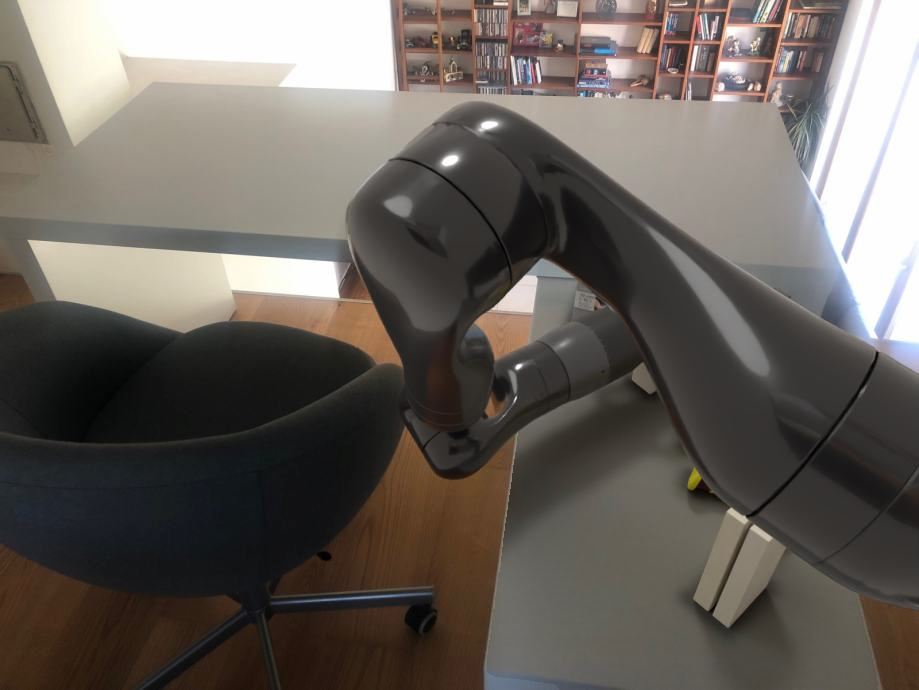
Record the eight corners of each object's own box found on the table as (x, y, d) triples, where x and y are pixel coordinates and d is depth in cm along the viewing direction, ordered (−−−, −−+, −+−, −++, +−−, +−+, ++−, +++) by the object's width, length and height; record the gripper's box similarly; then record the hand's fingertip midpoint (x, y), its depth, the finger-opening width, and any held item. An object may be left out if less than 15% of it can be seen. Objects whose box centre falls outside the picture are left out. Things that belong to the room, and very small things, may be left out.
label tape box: (585, 289, 97) (595, 211, 89) (614, 295, 96) (626, 217, 88) (569, 326, 91) (578, 246, 83) (600, 333, 90) (612, 253, 82)
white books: (766, 586, 62) (811, 498, 54) (727, 628, 59) (769, 542, 51) (731, 560, 64) (769, 470, 56) (692, 599, 61) (726, 511, 53)
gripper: (636, 367, 64) (758, 303, 71) (541, 293, 73) (658, 243, 80) (625, 422, 69) (740, 357, 76) (537, 347, 78) (648, 295, 85)
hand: (697, 299), depth 78 cm, fingers closed on thin white book, 3 cm apart
